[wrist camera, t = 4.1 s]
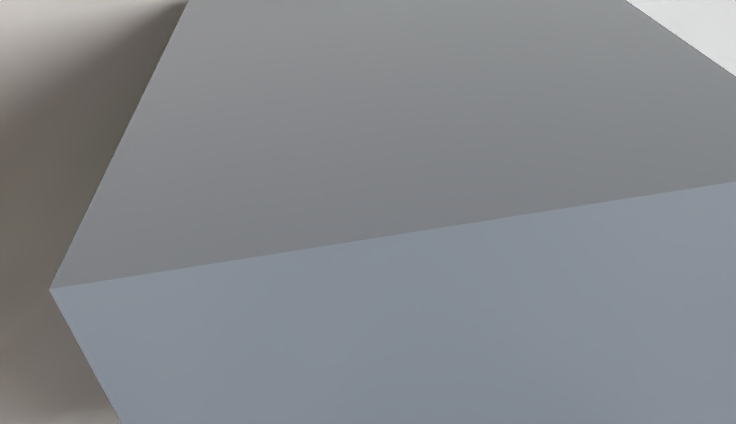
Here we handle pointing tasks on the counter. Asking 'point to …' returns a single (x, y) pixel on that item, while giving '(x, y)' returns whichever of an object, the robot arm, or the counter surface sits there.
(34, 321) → the counter surface
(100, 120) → the counter surface
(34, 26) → the counter surface
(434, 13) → the matte grey box
